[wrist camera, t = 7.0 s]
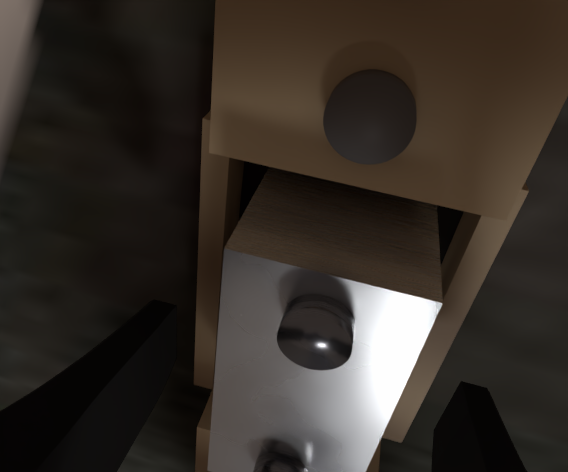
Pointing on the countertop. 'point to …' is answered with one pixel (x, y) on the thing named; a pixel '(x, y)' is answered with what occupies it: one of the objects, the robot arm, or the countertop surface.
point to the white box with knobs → (319, 323)
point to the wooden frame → (380, 132)
